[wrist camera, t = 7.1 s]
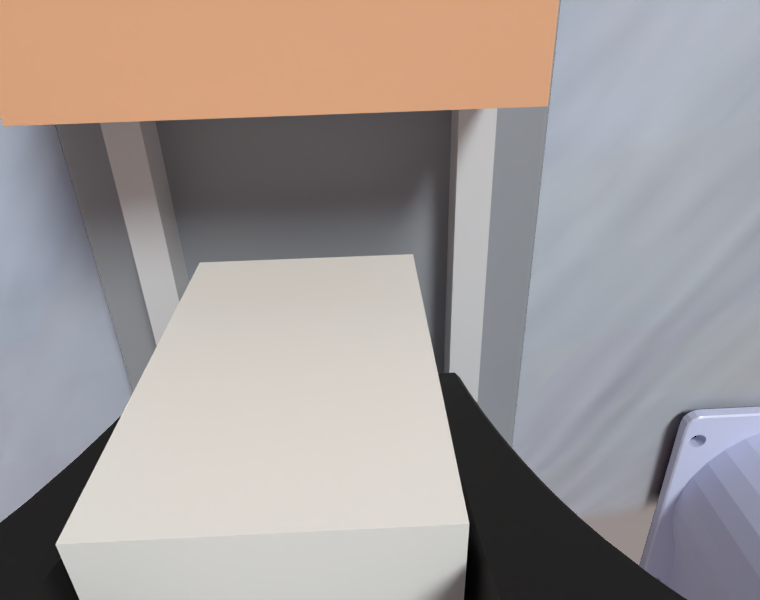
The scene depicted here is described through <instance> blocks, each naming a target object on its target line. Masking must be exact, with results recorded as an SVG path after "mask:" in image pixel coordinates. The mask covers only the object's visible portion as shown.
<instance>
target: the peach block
mask: <svg viewBox="0 0 760 600" xmlns="http://www.w3.org/2000/svg"><path fill="white" fill-rule="evenodd" d="M558 9H559V0H0V117H1V120H2V123H3V126H25V125H53V124H80V123H107V122H135V121H162V120H190V119H217V118H244V117H272V116H299V115H326V114H354V113H381V112H408V111H436V110H463V109H490V108H518V107H545V106H548V101H549V92H550V83H551V74H552V64H553V55H554V46H555V37H556V27H557V18H558Z"/></svg>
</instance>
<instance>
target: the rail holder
mask: <svg viewBox="0 0 760 600" xmlns="http://www.w3.org/2000/svg"><path fill="white" fill-rule="evenodd" d="M560 3H561V0H559V9H558V18H557V27H556V37H555V46H554V55H553V64H552V74H551V83H550V92H549V101H548V106H545V107H518V108H490V109H463V110H436V111H408V112H381V113H354V114H326V115H299V116H272V117H244V118H217V119H190V120H162V121H135V122H107V123H80V124H55V126H56V129H57V133H58V136H59V140H60V143H61V146H62V150H63V153H64V157H65V160H66V164H67V167H68V170H69V174H70V177H71V181H72V184H73V188H74V191H75V195H76V198H77V201H78V205H79V208H80V212H81V215H82V219H83V222H84V226H85V229H86V232H87V236H88V239H89V243H90V246H91V250H92V253H93V257H94V260H95V263H96V267H97V270H98V274H99V277H100V281H101V284H102V288H103V291H104V294H105V298H106V301H107V305H108V308H109V312H110V315H111V319H112V322H113V325H114V329H115V332H116V336H117V339H118V343H119V346H120V350H121V353H122V356H123V360H124V363H125V367H126V370H127V374H128V377H129V380H130V384H131V387H132V391H133V392H134V390H135V388H136V386H137V384H138V382H139V380H140V378H141V376H142V374H143V372H144V370H145V368H146V366H147V364H148V363H149V361H150V359H151V357H152V355H153V353H154V351H155V349H156V347H157V345H158V343H159V341H160V339H161V337H162V335H163V333H164V331H165V329H166V327H167V325H168V323H169V321H170V320H171V318H172V316H173V314H174V312H175V310H176V308H177V306H178V304H179V302H180V300H181V298H182V296H183V294H184V292H185V290H186V288H187V286H188V284H189V282H190V280H191V279H192V277H193V275H194V273H195V271H196V269H197V267H198V265H199V263H200V262H225V261H251V260H276V259H302V258H327V257H353V256H378V255H404V254H413V257H414V261H415V266H416V271H417V276H418V280H419V285H420V290H421V295H422V300H423V304H424V309H425V314H426V319H427V324H428V328H429V333H430V338H431V343H432V347H433V352H434V357H435V362H436V367H437V371H438V373H454V372H455V373H456V374H457V375H458V376H459V377H460V378H461V380H462V382H463V383H464V385H465V386H466V388H467V389H468V391H469V392H470V394H471V395H472V397H473V398H474V400H475V401H476V403H477V404H478V405H479V407H480V408H481V410H482V411H483V412H484V414H485V415H486V416H487V418H488V419H489V420H490V422H491V423H492V424H493V425H494V427H495V428H496V429H497V430H498V432H499V433H500V434H501V435H502V437H503V438H504V439H505V440H506V441H507V443H508V444H509V445H510V446H511V448H512V443H513V434H514V424H515V415H516V406H517V397H518V388H519V379H520V369H521V360H522V351H523V342H524V333H525V324H526V314H527V305H528V296H529V287H530V278H531V269H532V260H533V250H534V241H535V232H536V223H537V214H538V205H539V195H540V186H541V177H542V168H543V159H544V150H545V140H546V131H547V122H548V113H549V104H550V95H551V85H552V76H553V67H554V58H555V49H556V40H557V30H558V21H559V12H560Z"/></svg>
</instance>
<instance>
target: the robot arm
mask: <svg viewBox="0 0 760 600" xmlns="http://www.w3.org/2000/svg"><path fill="white" fill-rule="evenodd" d="M438 376H439V381H440V386H441V390H442V395H443V400H444V405H445V410H446V414H447V419H448V424H449V429H450V434H451V438H452V443H453V448H454V453H455V457H456V462H457V467H458V472H459V477H460V481H461V486H462V491H463V496H464V500H465V505H466V510H467V515H468V520H469V536H468V550H467V564H466V578H465V591H464V600H760V407H743V408H722V409H701V410H695V411H691V412H689V413H687V414H686V415H685V416H684V417H683V418H682V420H681V422H680V425H679V429H678V432H677V436H676V439H675V443H674V446H673V450H672V453H671V457H670V460H669V464H668V467H667V471H666V474H665V478H664V481H663V485H662V488H661V492H660V495H659V499H658V502H657V506H656V509H655V513H654V516H653V520H652V523H651V527H650V530H649V534H648V537H647V541H646V544H645V548H644V551H643V555H642V558H641V562H640V565H638V564H636V563H635V562H633V561H632V560H631V559H630V558H628V557H627V556H626V555H624V554H623V553H622V552H621V551H619V550H618V549H617V548H615V547H614V546H613V545H612V544H610V543H609V542H608V541H606V540H605V539H604V538H603V537H601V536H600V535H599V534H598V533H597V532H596V531H594V530H593V529H592V528H591V527H590V526H589V525H588V524H586V523H585V522H584V521H583V520H582V519H581V518H579V517H578V516H577V515H576V514H575V513H574V512H573V511H572V510H571V509H570V508H569V507H568V506H567V505H565V504H564V503H563V502H562V501H561V500H560V499H559V498H558V497H557V496H556V495H555V494H554V493H553V492H552V491H551V490H550V489H549V488H548V487H547V486H546V485H545V484H544V483H543V482H542V481H541V480H540V479H539V478H538V477H537V476H536V474H535V473H534V472H533V471H532V470H531V469H530V468H529V467H528V466H527V465H526V464H525V463H524V461H523V460H522V459H521V458H520V457H519V456H518V455H517V453H516V452H515V451H514V450H513V449H512V448H511V446H510V445H509V444H508V443H507V441H506V440H505V439H504V438H503V437H502V435H501V434H500V433H499V432H498V430H497V429H496V428H495V427H494V425H493V424H492V423H491V422H490V420H489V419H488V418H487V416H486V415H485V414H484V412H483V411H482V410H481V408H480V407H479V405H478V404H477V403H476V401H475V400H474V398H473V397H472V395H471V394H470V392H469V391H468V389H467V388H466V386H465V385H464V383H463V382H462V380H461V378H460V377H459V376H458V375H457V374H456V373H455V372H454V373H438ZM120 417H121V416H120ZM120 417H119V418H118V419H117V420H116V421H115V422H114V423H113V424H112V425H111V426H110V427H109V428H108V429H107V430H106V431H105V432H104V433H103V434H102V435H101V436H100V437H99V438H98V439H96V440H95V441H94V442H93V443H92V444H91V445H90V446H89V447H88V448H87V449H86V450H85V451H84V452H83V453H82V454H81V455H80V456H79V457H77V458H76V459H75V460H74V461H73V462H72V463H71V464H70V465H68V466H67V467H66V468H65V469H64V470H63V471H62V472H60V473H59V474H58V475H57V476H56V477H55V478H54V479H52V480H51V481H50V482H49V483H48V484H47V485H45V486H44V487H43V488H42V489H41V490H40V491H39V492H37V493H36V494H35V495H34V496H33V497H32V498H30V499H29V500H28V501H27V502H26V503H24V504H23V505H22V506H21V507H20V508H18V509H17V510H16V511H15V512H13V513H12V514H11V515H9V516H8V517H7V518H6V519H4V520H3V521H2V522H1V523H0V600H79V597H78V595H77V593H76V591H75V588H74V586H73V584H72V581H71V579H70V577H69V574H68V572H67V570H66V568H65V565H64V563H63V561H62V558H61V556H60V554H59V552H58V549H57V547H56V545H55V544H56V542H57V540H58V538H59V536H60V535H61V533H62V531H63V529H64V527H65V525H66V523H67V521H68V519H69V517H70V515H71V513H72V511H73V509H74V507H75V505H76V503H77V501H78V499H79V497H80V495H81V493H82V492H83V490H84V488H85V486H86V484H87V482H88V480H89V478H90V476H91V474H92V472H93V470H94V468H95V466H96V464H97V462H98V460H99V458H100V456H101V454H102V452H103V450H104V449H105V447H106V445H107V443H108V441H109V439H110V437H111V435H112V433H113V431H114V429H115V427H116V425H117V423H118V421H119V419H120ZM697 435H698V436H697ZM694 436H696V437H695V438H693V437H694ZM691 438H692V439H691Z"/></svg>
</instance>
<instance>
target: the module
mask: <svg viewBox="0 0 760 600" xmlns="http://www.w3.org/2000/svg"><path fill="white" fill-rule="evenodd" d="M468 536H469V520H468V515H467V510H466V505H465V500H464V496H463V491H462V486H461V481H460V477H459V472H458V467H457V462H456V457H455V453H454V448H453V443H452V438H451V434H450V429H449V424H448V419H447V414H446V410H445V405H444V400H443V395H442V390H441V386H440V381H439V376H438V371H437V367H436V362H435V357H434V352H433V347H432V343H431V338H430V333H429V328H428V324H427V319H426V314H425V309H424V304H423V300H422V295H421V290H420V285H419V280H418V276H417V271H416V266H415V261H414V257H413V254H404V255H378V256H353V257H327V258H302V259H276V260H251V261H225V262H200V263H199V265H198V267H197V269H196V271H195V273H194V275H193V277H192V279H191V280H190V282H189V284H188V286H187V288H186V290H185V292H184V294H183V296H182V298H181V300H180V302H179V304H178V306H177V308H176V310H175V312H174V314H173V316H172V318H171V320H170V321H169V323H168V325H167V327H166V329H165V331H164V333H163V335H162V337H161V339H160V341H159V343H158V345H157V347H156V349H155V351H154V353H153V355H152V357H151V359H150V361H149V363H148V364H147V366H146V368H145V370H144V372H143V374H142V376H141V378H140V380H139V382H138V384H137V386H136V388H135V390H134V392H133V394H132V396H131V398H130V400H129V402H128V404H127V406H126V407H125V409H124V411H123V413H122V415H121V417H120V419H119V421H118V423H117V425H116V427H115V429H114V431H113V433H112V435H111V437H110V439H109V441H108V443H107V445H106V447H105V449H104V450H103V452H102V454H101V456H100V458H99V460H98V462H97V464H96V466H95V468H94V470H93V472H92V474H91V476H90V478H89V480H88V482H87V484H86V486H85V488H84V490H83V492H82V493H81V495H80V497H79V499H78V501H77V503H76V505H75V507H74V509H73V511H72V513H71V515H70V517H69V519H68V521H67V523H66V525H65V527H64V529H63V531H62V533H61V535H60V536H59V538H58V540H57V542H56V544H55V545H56V547H57V549H58V552H59V554H60V556H61V558H62V561H63V563H64V565H65V568H66V570H67V572H68V574H69V577H70V579H71V581H72V584H73V586H74V588H75V591H76V593H77V595H78V597H79V600H464V591H465V578H466V564H467V550H468Z"/></svg>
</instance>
